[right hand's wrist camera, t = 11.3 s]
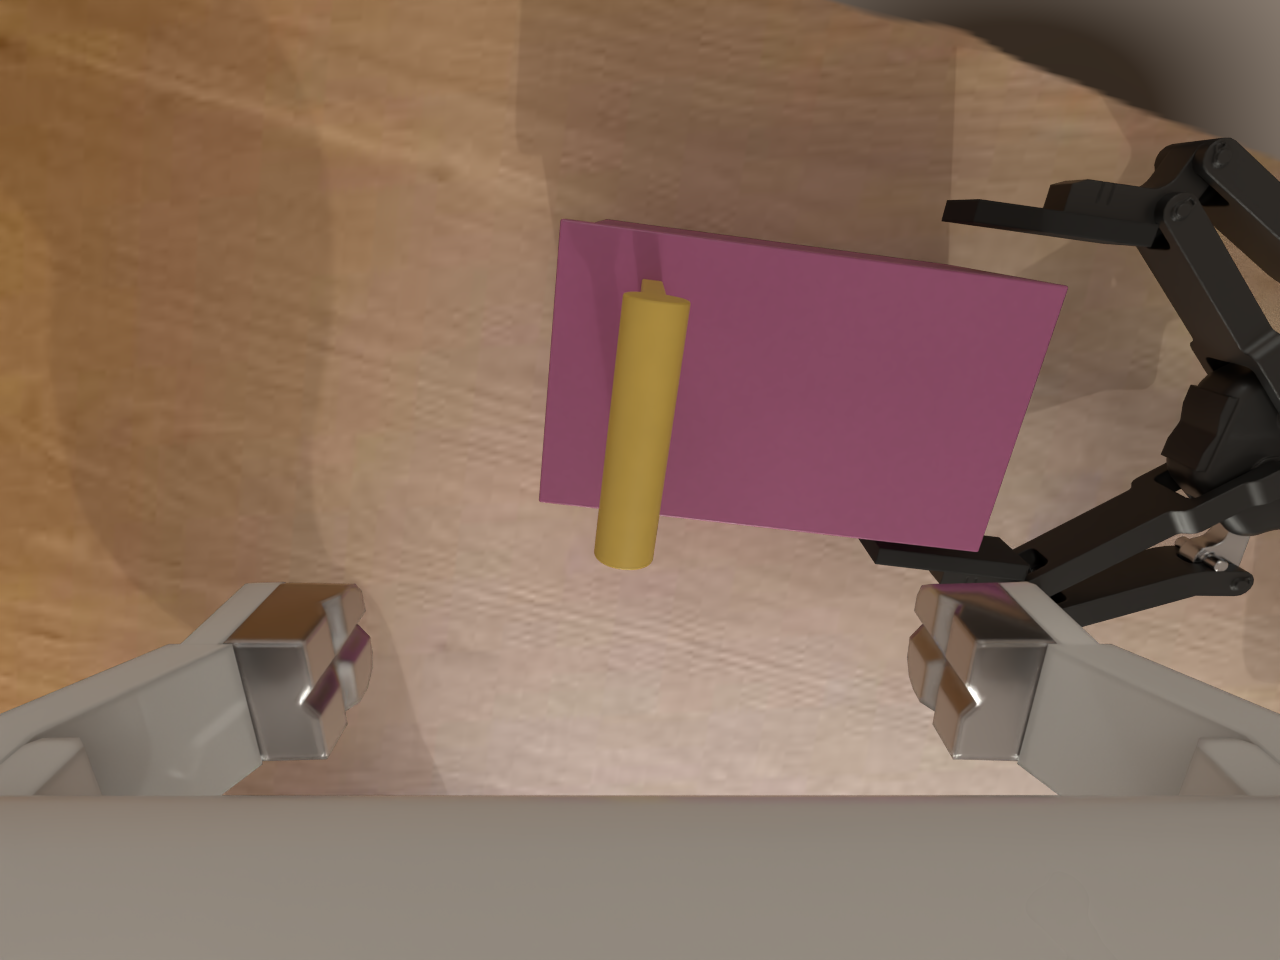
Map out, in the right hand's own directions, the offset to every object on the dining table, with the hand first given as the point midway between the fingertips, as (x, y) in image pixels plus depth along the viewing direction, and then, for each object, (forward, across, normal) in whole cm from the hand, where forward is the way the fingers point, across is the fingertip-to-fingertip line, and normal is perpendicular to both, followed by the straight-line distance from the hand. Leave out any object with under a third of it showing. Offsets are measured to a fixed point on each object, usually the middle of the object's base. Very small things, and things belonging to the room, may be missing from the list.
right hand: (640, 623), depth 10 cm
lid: (+16, -5, +1) cm, 17 cm away
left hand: (+18, -11, +1) cm, 21 cm away
